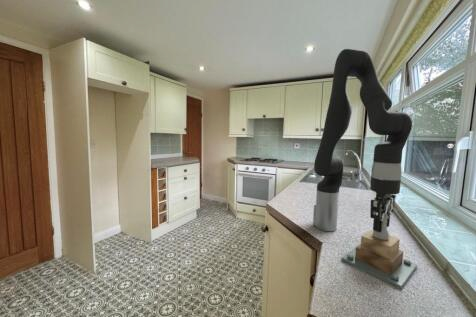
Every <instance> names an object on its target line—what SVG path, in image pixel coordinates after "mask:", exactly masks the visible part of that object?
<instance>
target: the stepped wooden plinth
mask: <svg viewBox="0 0 476 317" xmlns="http://www.w3.org/2000/svg"><path fill="white" fill-rule="evenodd" d="M360 237H361V239H360V244H358V245H357V246H355V248H356V253H355V259H357V260H359V261H361V262H363V263H365V264H368V265H370V266H372V267H374V268H376V269H379V270H381V271H383V272H385V273H387V274H390V275H391V274H393V273H394V272H395V271H396V270H397V269H398V268H399V266H400V265H401V264H402V261H403V258H404V251H403V250H401V249H399V248H400V238H398V237H395V236H392V235H389V236H388V237H389V239H388V240H380V239H377V238H375V237H374V236H373V229H370V230H368V231H367V232H366V233H363V234H362V235H361V236H360Z"/></svg>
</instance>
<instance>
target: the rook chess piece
mask: <svg viewBox="0 0 476 317" xmlns="http://www.w3.org/2000/svg"><path fill="white" fill-rule="evenodd" d="M376 215H377V216H378V213H377V214H376ZM388 218H389V217H388V214H384V217H383V224H382V232H377V231H374V230H373V229H372V230H373V236H374V237H375V238H377V239H380V240H388V239H389V237H388V236H390V233H389V231H388V227H387V219H388Z"/></svg>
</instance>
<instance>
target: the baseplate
mask: <svg viewBox="0 0 476 317" xmlns="http://www.w3.org/2000/svg"><path fill="white" fill-rule="evenodd" d="M355 253H356V247H355V248H353V249H352V250H350V251H348V252H347V253H346V254H344V255H343V256H341V258H340V259H341V261H342V262H344V263H346V264H348V265H350V266H352V267H354V268H356V269H359V270H360V271H363V272H365V273H366V274H368V275H370V276H373V277H375V278H377V279H378V280H381V281H382V282H385V283H387V284H389V285H391V286H393V287H395V288H397V289H399V290H402V289H403V287H404V285H405V284H406V283H407V282H408V281H409V279H410V278H411V277H412V275H413V273H414V272H415V271H416V269H417V268H418V264H417V263H414V262H412V261H410V260H408V259H403V261H402V264H401V265H400V266H399V268H398V269H397V270H396V271H395V272H394V273H393V274H391V275H390V274H387V273H385V272H383V271H381V270H379V269H376V268H374V267H372V266H370V265H368V264H365V263H363V262H361V261H359V260H357V259H355Z"/></svg>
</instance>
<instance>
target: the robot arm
mask: <svg viewBox="0 0 476 317" xmlns="http://www.w3.org/2000/svg"><path fill="white" fill-rule="evenodd" d="M332 75H333V77H332V85H331V86H332V87H331V93H330V97H329V104H328V107H327V110H326V116H325V119H324V120H325V122H324V126H323V127H324V128H323V131H322V135H321V139H320V144H319V147H318V149H317V153H316V156H315V159H314V164H313V167H314V172H315V174H316V175H317V176H319V177H323V179H322V180H321V181H319V182H318V183H317V185H316V198H315V204H314V206H313V219H312V225H313V226H314V225H315V226H316V227H315V226H314V227H315V228H316V229H318V228H319V230H320V229H321V231H324V232H335V231H336V230H337V229H338V228H337V227H338V215H339V213H338V212H339V197H340V196H339V193H340V189H341V186H342V182H343V174H344V161H343V159H342V158H341V157H340V156H338V155H334V153H335V152H334V151H335V149H336V146H337V145H338V142H339V141H340V140H341V138H342V137H343V136H344V135H345V133H346V132H347V130H348V128H349V125H350V122H351V119H352V118H351V117H352V113H353V109H352V105H351V104H352V103H351V100H350V98H349V95H348V89H347V83H348V82H347V81H348V77H351V78H357V79H358V81H359V82H360V83H361V87H360V89H359V98H360V100H361V102H362V104H363V106H364V108H365V110H366V113H367V120H368V126H369V129H370V131H371V132H372V133H374V134H375V135H378V136H387V138H386V140H385V141H384V142H380V143H378V144H376V145H375V146H374V150H373V158H372V160H373V162H372V165H371V166H372V167H371V173H370V174H371V176H370V187H369V188H370V190H371V191H372V192H374V193H375V196H374V198H373V199H371V200H370V218H371V219H373V221H372V222H373V223H372V230H374V231H377V232H382V224H383V217H384V214H388V217H389V218H388V219H387V228H389V227H390V222H391V216H392V214H393V213H394V212H395V211H394V210H395V209H394V208H395V202H396V197H397V196H396V195H399V194H400V192H401V183H402V172H403V171H402V170H403V169H402V160H403V151H404V148H405V146H406V143H407V141H408V139H409V136H410V134H411V131H412V128H413V120H412V117H411V116H410V115H409V113H407V112H403V111H390V109H391V108H392V106H393V101H392V99H391V97H390V96H389V94H388V93H387V91H386V89H385V88H384V86H383V85H382V84H381V82H380V79H379V77H378V75H377V72H376V68H375V67H374V63H373V59H372V57H371V56H370V55H369V53H368V52H366V51H364V50H358V49H351V48H344V49H342V50H341V51H340V52H339V54H338V55H337V58H336V60H335V63H334V69H333V74H332ZM377 214H378V216H377Z"/></svg>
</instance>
